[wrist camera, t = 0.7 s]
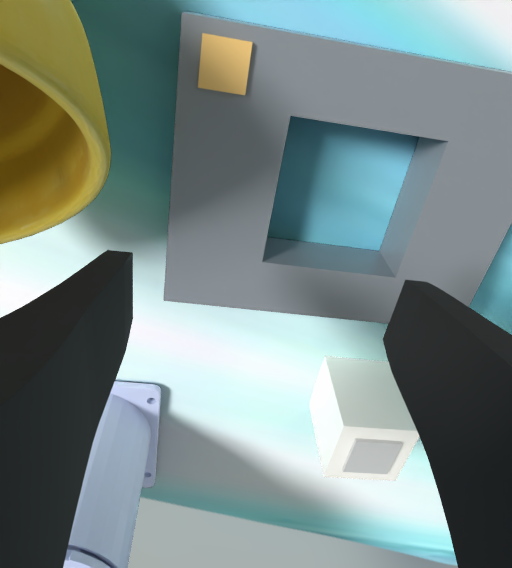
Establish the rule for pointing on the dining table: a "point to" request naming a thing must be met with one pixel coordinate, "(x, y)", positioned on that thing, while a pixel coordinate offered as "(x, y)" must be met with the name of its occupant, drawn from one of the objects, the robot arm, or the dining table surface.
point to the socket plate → (343, 110)
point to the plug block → (360, 420)
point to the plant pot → (47, 118)
